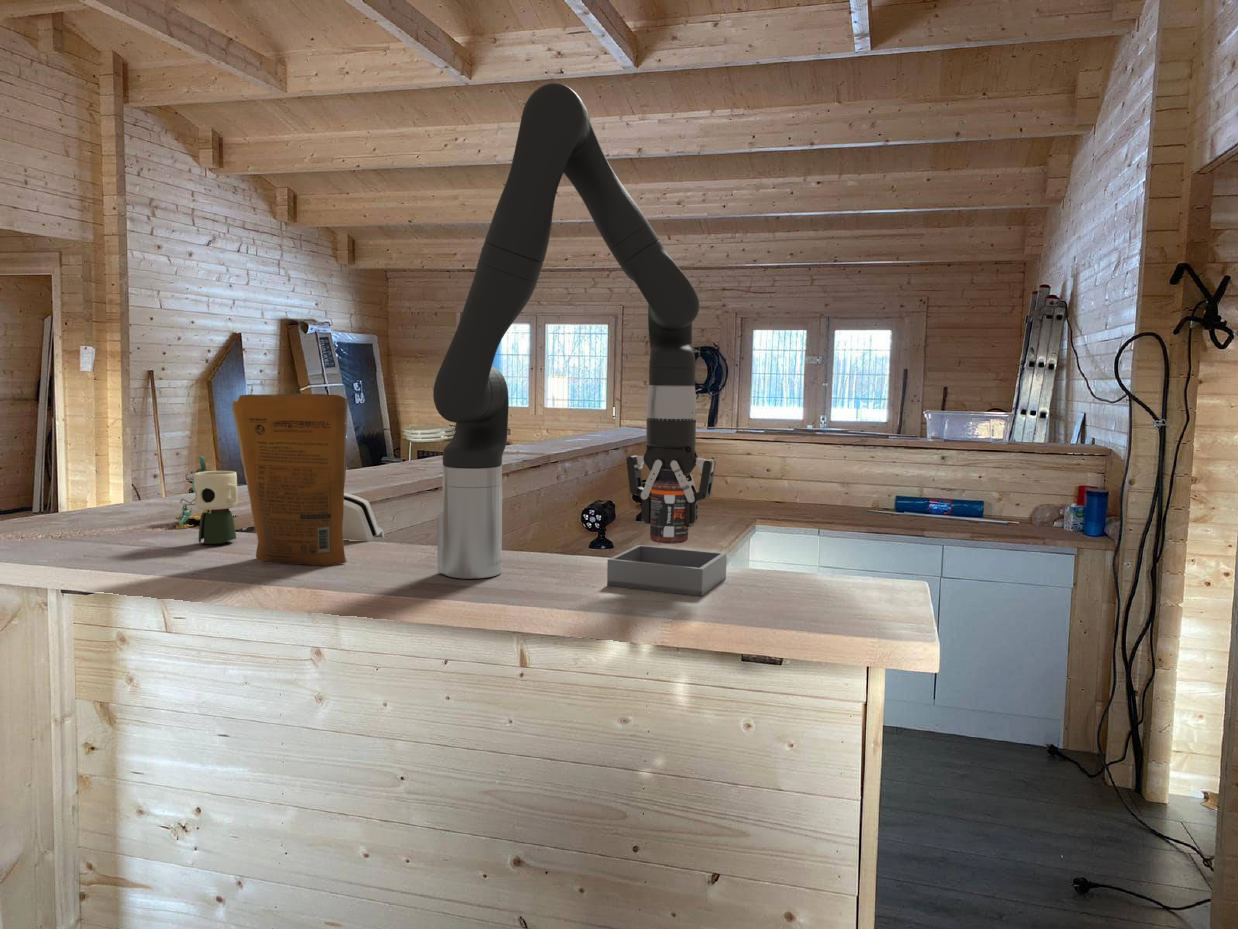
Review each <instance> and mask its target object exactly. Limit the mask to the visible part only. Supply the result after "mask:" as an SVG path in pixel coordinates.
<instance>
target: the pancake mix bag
mask: <svg viewBox="0 0 1238 929" xmlns="http://www.w3.org/2000/svg"><path fill="white" fill-rule="evenodd" d="M237 399H238V400H232V404H231V405H232V408H231V410H232V411H231V412H232V419H233V422H234V424H235V430H236V435H237V440H238V445H239V446H238V447H239V448H238V449H239V453H240V461H241V463H242V466H243V473H244V478H245V482H246V483H245V484H246V487H247V493H248V497H249V503H250V510H251V514H252V515H251V516H252V519H253V520H252V521H253V525H254V528H255V533H256V537H257V538H256V539H257V546H256V550H255V551H256V553H255V558H256V559H257V560H258V561H259V562H260V563H266V564H288V565H290V564H291V565H305V566H306V565H308V566H318V567H319V566H321V567H322V566H323V567H324V566H335V565H340V564H345V563H347V558H346V555H345V548H344V546H345V545H344V539H343V532H342V522H343V515H344V493H345V486H346V485H345V484H346V472H347V469H346V468H347V466H346V465H347V432H348V403H349V399H348V398H346V397H344V396H342V395H339V394H326V393H325V394H324V393H289V394H288V393H286V394H240V395H239V396H238V398H237Z"/></svg>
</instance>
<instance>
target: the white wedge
mask: <svg viewBox="0 0 1238 929" xmlns="http://www.w3.org/2000/svg"><path fill="white" fill-rule="evenodd" d="M342 532H343V540H349V541H350V540H352V541H359V542H361V541H363V542H371V541H373V540H374V539H375V538H374V537H376V538H385V534H384V530H383V528H382V527H379V526H378V523H377V520H376V517H375V514H374V512H373V509H372V506H371V504H370V502H369V501H368V500H366V499H365V498H362V497H359V496H357V495H354V494H351V493H348V492H344V515H343V522H342Z"/></svg>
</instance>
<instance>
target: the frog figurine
mask: <svg viewBox="0 0 1238 929" xmlns="http://www.w3.org/2000/svg"><path fill="white" fill-rule="evenodd" d="M198 460H199V464H200V465H199V466H200V468H198V469H197V470H196V471H195V473H198V472H205V471H209V470H208V469H207V465H206V460H205V456H203V455H201V456H199V457H198ZM215 471H221V470H220V469H216V470H215ZM191 484H192V490H193V491H192V492H193V493H195V488H194V479H193V480H192V482H191ZM183 501H185V502H186V503H185V504H182V502H183ZM194 501H195V498H194V499H192V500H191V501H188V500H186V499H184V498H181V499H180V501H179V504H182V505H183V506H182V513H181V514H179V515H177V516H174V520H178V525H177V524H176V525H175V526H176V527H175V529H177V530H178V529H181V530H182V529H188V528H190V527H191V528H192V527H195V526H194V525H195V524H192V525H189V523H188V522H186V521H189V520H188V519H195V520H194V521H200V519H201V515H202V513H203V511H202V512H194V513H193V514H194V515H192V511H193V509H190V510H189V508H188V507H187V506H195V502H194ZM193 502H194V503H193ZM187 503H188V504H187ZM195 513H197V514H195Z"/></svg>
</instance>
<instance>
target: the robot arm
mask: <svg viewBox="0 0 1238 929" xmlns="http://www.w3.org/2000/svg"><path fill="white" fill-rule="evenodd" d="M519 123H520V124H519V129H518V134H517V138H516V144H515V147H514V152H513V157H512V161H511V164H510V165H511V166H510V169H509V173H508V176H507V179H506V182H505V185H504V188H503V189H502V192H501V195H500V197H499V199H498V202H497V205H496V207H495V210H494V213H493V216H492V220H491V222H490V224H489V225H490V226H489V228H488V230H487V234H486V236H485V239H484V242H483V245H482V247H481V251H480V254H479V258H478V261H477V265H476V268H475V271H474V272H475V273H474V275H473V279H472V282H471V284H470V288H469V291H468V294H467V297H466V300H465V303H464V306H463V309H462V312H461V315H460V318H459V319H460V320H459V321H458V322H459V323H458V325H457V328H456V330H455V333H454V334H453V336H452V340H451V342H450V344H449V347H448V349H447V352H446V353H445V356H444V357H443V360H442V363H441V365H440V367H439V370H438V371H437V375H436V377H435V380H434V384H433V391H432V392H433V393H432V398H433V403H434V406H435V409H436V411H437V412H438V414H439V415H440V417H441V418H443V419H444V420H446V421H448V422H449V423H450V422H451V423H455V431H454V435H453V436H452V438H451V440H450V442H448V444H447V445H445V447H444V448H443V450H442V512H439V513H438V514H437V519H436V520H437V523H436V524H437V574H442V575H444V576H447V577H450V578H456V579H470V580H471V579H472V580H473V579H485V578H490V577H491V578H492V577H495V576H498V575H500V574H501V573H502V563H503V559H502V558H503V557H502V556H503V554H502V547H503V542H502V540H503V536H502V535H503V534H502V531H503V522H502V521H503V519H502V518H503V511H502V510H503V466H502V465H503V456H504V455H503V454H504V452H505V450H506V446H507V441H508V430H509V429H508V428H509V427H508V425H509V404H510V402H509V400H510V399H509V388H508V384H507V381H506V379H505V377H504V375H503V374H502V372H501V371H500V370H499V369H498V368H497V367H495V366H494V365H493V364H494V360H495V358H496V357H495V356H496V354H497V351H498V348H499V346H500V344H501V341H502V339H503V338H504V336H505V335H506V332H507V331H508V330H510V329H509V328H510V327H511V325H513V323H514V321H515V320H516V319H517V318H518V316H519V315H520V313H521V312H522V311H523V310H524V308H525V307H526V305H527V304H528V302H529V300H530V299H531V297H532V296H533V293H534V291H535V289H536V286H537V283H538V280H539V278H540V276H541V275H540V274H541V272H542V268H543V265H544V262H545V259H546V255H547V251H548V247H549V243H550V235H551V230H552V223H553V222H552V221H553V214H554V208H555V205H554V204H555V202H556V196H557V192H558V189H559V186H560V182H561V180H562V177H563V174H564V175H565V177H567V179H568V180H569V181H570V183H571V184H572V186H573V187H574V189H575V190H576V192H577V193H578V195H579V197H580V198H581V200H582V202H583V203H584V205H585V207H586V209H587V211H588V212H589V215H590V216H591V218H592V221H593V222H594V224H595V226H596V229H597V230H598V232H599V234H600V236H601V237H602V239H603V241H604V242H605V245H606V246H607V248H608V250H609V251H610V253H611V254H612V255H613V257H614V259H615V260H616V262H617V263H618V265H619V266H620V268H621V269H622V270H621V271H623V273H624V274H625V275H626V277H628V279H630V280H631V281H632V282H634V283H635V285H636V286H637V288H638V289H639V291H640V292H641V294H642V296H643V297H644V299H645V301H646V302H647V304H648V306H647V325H648V337H649V338H648V340H649V341H648V342H649V348H650V349H649V350H650V353H649V362H648V363H649V365H648V370H649V371H648V391H647V399H646V431H645V432H646V436H645V438H646V439H645V440H646V444H645V445H646V450H645V452H644V454H643V455H636V454H635V455H630V456H627V458H626V468H627V477H628V486H629V493H630V494H631V495H635V496H638V497H639V498H640V499H641V518H642V520H644V524H649V525H650V515H651V487H652V486H653V484H654V483H655V482H656V480H657V479H658V478H659V477H658V475H659V472H660V470H661V469H672V470H673V472H674V473H675V476H676V478H677V480H678V482H679V485H680V487H681V489H683V490H684V494H685V496H686V498H687V500H688V502H687V503H686V513H685V526H686V527H688V528H691V527H694V524H696V523H697V522H698V518H699V502H700V501H702V500H705V499H707V498H710V496H711V494H712V488H713V482H714V475H715V470H716V463H717V462H716V461H715V460H714V459H713V458H711V459H705V458H701V457H698V455H697V452H696V442H697V441H696V439H697V437H696V436H697V435H696V434H697V432H696V431H697V414H698V408H697V395H696V356H695V353H694V352H695V351H694V350H693V347H692V344H693V343H692V341H693V340H692V339H693V338H692V336H693V332H692V331H693V322H694V321H695V320H696V318H697V317H698V314H699V312H700V299H699V296H698V294H697V291H696V289H695V288H694V286H693V284H692V283H691V281H690V280H689V278H688V277H687V276H686V274H685V273H684V271H682V270H681V268H680V267H679V266H678V265H677V263H676V262H675V261H674V259H673V258H672V257H671V256H670V255H669V254H668V251H666V248H665V247H664V245H663V243H662V241H661V240H660V238H659V237H658V234H656V231H655V230H654V229H653V227H652V224H650V222H649V220H648V218H647V217H646V215H645V214H644V213H643V211H642V210H641V209H640V207H639V205H638V204H637V203H636V202H635V200H634V199H633V198H632V196H631V195H630V193H629V192H628V191H627V189H626V188H625V186H624V185H623V183H622V182H621V181H620V179H619V177H618V176H617V174H616V172H615V171H614V169H613V168H612V166H611V164H610V162H609V160H608V159H607V157H606V155H605V153H604V151H603V150H602V147H601V144H600V142H599V139H598V137H597V135H596V133H595V130H594V128H593V125H592V123H591V118H590V114H589V111H588V109H587V107H586V105H585V104H584V102H583V100H582V98H581V97H580V96H579V95H578V93H577V92H575V91H574V90H573V89H572V88H571V87H569V86H568V85H566V84H564V83H563V84H562V83H560V82H549V83H546V84H544V85H542V86H540V87H538V88H537V89H535V90H534V91H533V92H532V93H531V95H529V97H528V98H527V101H526V102H525V104H524V106H523V109H522V114H521V118H520V122H519ZM644 464H645V465H646V466H647V469H648V470H649V471H650V472H649V474H648V475H647V476H648V477H647V479H646V481H645V483H644V484H645V485H644V487H643V479H642V472H641V469H643V468H644ZM696 466H697V468H698V472H699V473H701V475H700V483H699V489H698V490H697V488H696V484H695V483H696V482H695V480H694V478H693V476H692V473H691V472H692V471H693V470H694V469H695V467H696Z"/></svg>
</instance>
